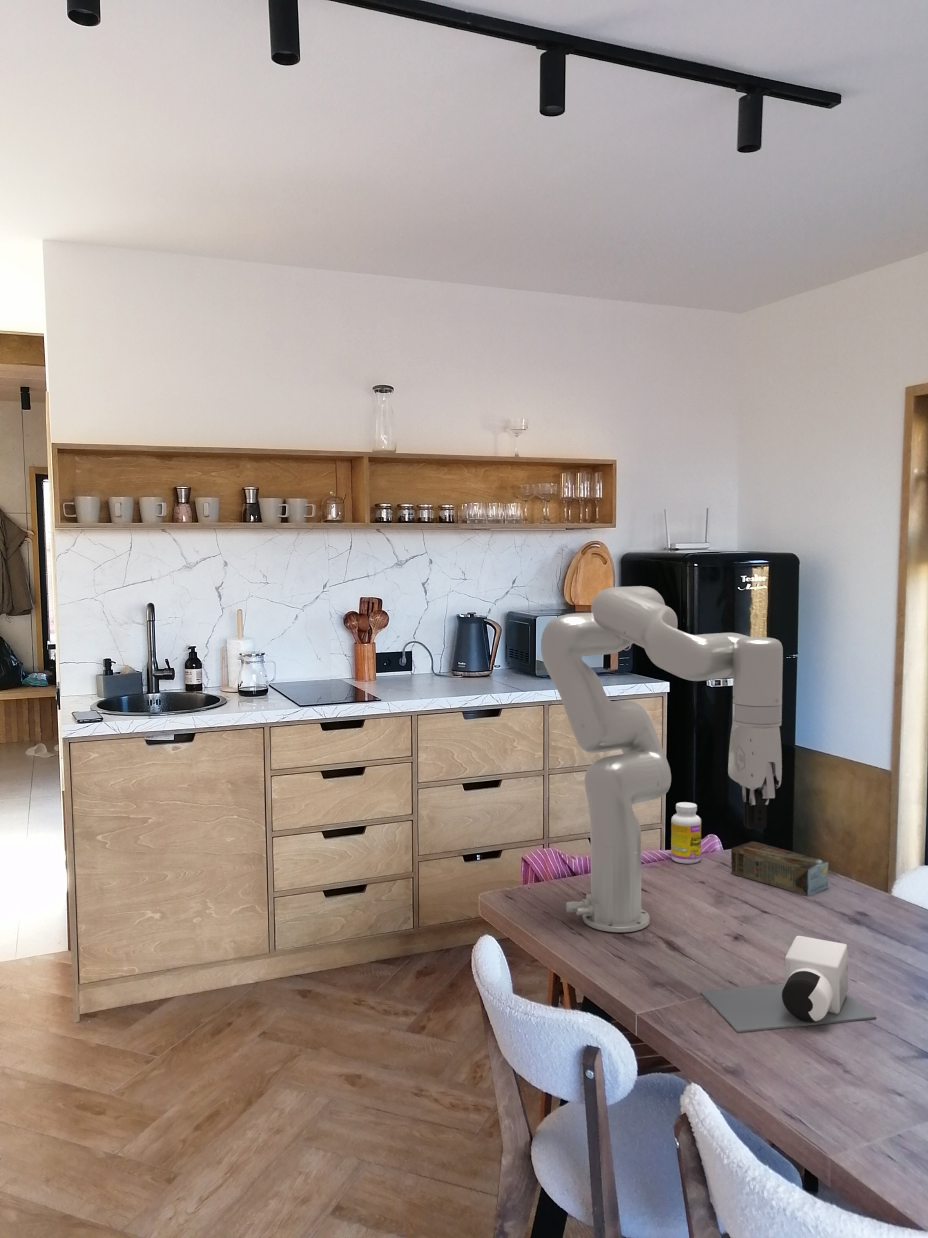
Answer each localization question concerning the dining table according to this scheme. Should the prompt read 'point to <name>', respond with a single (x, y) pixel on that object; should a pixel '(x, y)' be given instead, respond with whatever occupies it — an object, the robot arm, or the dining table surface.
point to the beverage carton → (780, 868)
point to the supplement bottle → (686, 834)
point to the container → (815, 978)
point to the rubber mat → (772, 1009)
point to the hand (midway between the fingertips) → (755, 827)
